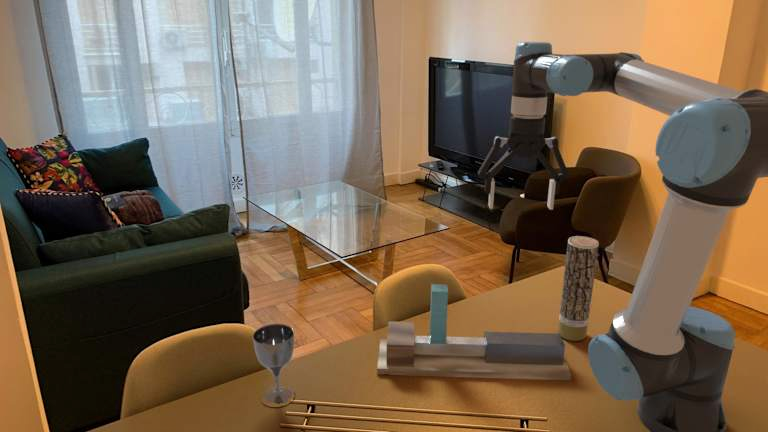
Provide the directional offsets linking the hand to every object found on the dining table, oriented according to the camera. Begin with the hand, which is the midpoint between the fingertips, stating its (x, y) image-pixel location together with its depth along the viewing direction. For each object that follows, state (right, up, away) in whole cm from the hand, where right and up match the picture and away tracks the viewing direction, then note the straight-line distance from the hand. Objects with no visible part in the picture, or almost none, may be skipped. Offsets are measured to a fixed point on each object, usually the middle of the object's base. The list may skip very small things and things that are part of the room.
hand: (520, 207), depth 133 cm
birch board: (-12, -35, -2) cm, 37 cm away
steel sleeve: (0, -34, -3) cm, 34 cm away
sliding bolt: (-15, -33, -2) cm, 36 cm away
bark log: (+15, -32, +9) cm, 36 cm away
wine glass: (-53, -40, -14) cm, 68 cm away
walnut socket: (-28, -34, -1) cm, 44 cm away
